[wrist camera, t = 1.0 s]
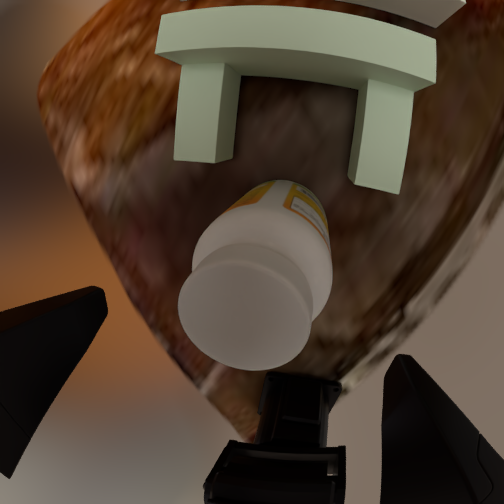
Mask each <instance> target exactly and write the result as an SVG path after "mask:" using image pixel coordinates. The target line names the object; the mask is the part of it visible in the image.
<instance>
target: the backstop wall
mask: <svg viewBox="0 0 504 504" xmlns="http://www.w3.org/2000/svg"><path fill="white" fill-rule="evenodd" d="M180 1H185V0H180ZM337 1H343V2H348V3H353V4H358V5H363V6H367V7H372V8H376V9H379V10H383V11H387V12H390V13H394V14H397V15H400V16H404V17H407V18H410V19H413V20H415V21H418V22H421V23H424V24H426V25H429V26H431V27H434V28H437V27H438V26H439V25H440V24H441V23H443V22H444V21H445V20H446V19H447V18H449V17H450V16H451V15H452V14H453V13H455V12H456V11H457V10H458V9H459V8H461V7H462V6H463V5H464V4H466V1H465V0H337Z"/></svg>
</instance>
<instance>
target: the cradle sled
mask: <svg viewBox="0 0 504 504" xmlns="http://www.w3.org/2000/svg"><path fill="white" fill-rule="evenodd" d="M155 54H157V55H160V56H162V57H165V58H167V59H169V60H172V61H174V62H176V63H178V64H181V65H182V69H181V77H180V86H179V95H178V105H177V116H176V129H175V144H174V160H181V161H195V162H207V163H217V162H221V161H225V160H229V159H232V158H233V148H234V138H235V128H236V118H237V108H238V99H239V90H240V81H241V75H246V76H265V77H278V78H288V79H297V80H305V81H313V82H319V83H326V84H332V85H337V86H342V87H348V88H352V89H357V90H358V100H357V109H356V118H355V126H354V133H353V141H352V148H351V154H350V161H349V167H348V173H347V176H348V178H349V179H350V180H351V181H352V182H353V183H354V184H355V185H360V186H364V187H369V188H373V189H378V190H382V191H386V192H390V193H394V194H398V195H399V192H400V187H401V182H402V177H403V171H404V166H405V160H406V154H407V147H408V140H409V133H410V125H411V116H412V106H413V94H414V92H416V91H418V90H420V89H423V88H425V87H427V86H430V85H432V84H435V83H436V40H435V39H433V38H430V37H427V36H425V35H422V34H419V33H417V32H414V31H411V30H408V29H405V28H402V27H398V26H395V25H392V24H388V23H385V22H381V21H377V20H373V19H369V18H365V17H360V16H356V15H351V14H345V13H340V12H334V11H327V10H320V9H311V8H301V7H288V6H227V7H214V8H204V9H195V10H188V11H181V12H175V13H170V14H164V15H162V17H161V22H160V27H159V32H158V38H157V44H156V50H155Z"/></svg>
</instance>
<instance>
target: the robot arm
mask: <svg viewBox="0 0 504 504" xmlns="http://www.w3.org/2000/svg"><path fill="white" fill-rule="evenodd" d="M107 314H108V307H107V302H106V297H105V292H104V290H103V289H101V288H99V287H96V286H89V287H85V288H82V289H78V290H74V291H71V292H67V293H64V294H60V295H57V296H53V297H50V298H46V299H43V300H39V301H36V302H32V303H29V304H25V305H22V306H18V307H15V308H11V309H8V310H5V311H3V312H2V311H1V312H0V473H2V474H3V475H4V476H6V477H7V478H8V479H10V478H11V476H12V475H13V472H14V471H15V468H16V466H17V465H18V463H19V461H20V459H21V457H22V455H23V453H24V451H25V449H26V447H27V446H28V444H29V442H30V440H31V438H32V436H33V434H34V433H35V431H36V429H37V427H38V426H39V424H40V422H41V421H42V419H43V417H44V416H45V414H46V412H47V411H48V409H49V407H50V406H51V404H52V403H53V401H54V399H55V398H56V396H57V395H58V393H59V391H60V390H61V388H62V387H63V385H64V384H65V382H66V381H67V379H68V378H69V376H70V375H71V373H72V372H73V370H74V369H75V367H76V366H77V364H78V363H79V361H80V360H81V358H82V357H83V355H84V354H85V353H86V351H87V349H88V348H89V346H90V344H91V343H92V341H93V339H94V337H95V336H96V333H97V332H98V330H99V329H100V327H101V325H102V323H103V322H104V320H105V318H106V317H107ZM271 377H272V378H271ZM341 391H342V385H341V384H340V383H336V382H328V381H321V380H314V379H308V378H302V377H296V376H290V375H285V374H280V373H275V372H268V373H267V374H266V377H265V381H264V386H263V390H262V395H261V399H260V404H259V408H258V414H259V415H261V417H260V421H259V425H258V429H257V432H256V436H255V440H254V443H253V444H252V443H244V442H238V441H236V440H229V442H228V444H227V446H226V447H225V448H224V450H223V451H222V453H221V455H220V456H219V458H218V460H217V462H216V463H215V465H214V467H213V468H212V470H211V472H210V474H209V475H208V477H207V478H206V480H205V483H204V484H203V488H204V490H205V491H204V503H205V504H344V500H345V489H346V446H338V447H326V445H327V430H328V415H329V413H330V411H331V409H332V407H333V406H334V404H335V402H336V400H337V398H338V397H339V395H340V393H341ZM381 426H382V477H381V496H380V504H504V459H503V458H502V457H501V456H500V455H499V454H498V453H497V452H496V451H495V450H494V449H493V447H492V446H491V445H490V444H489V443H488V442H487V440H486V439H485V438H484V437H483V436H482V434H479V431H478V430H477V428H476V427H475V426H474V425H473V424H472V423H471V422H470V420H469V419H468V418H467V417H466V416H465V415H464V413H463V412H462V411H461V410H460V409H459V408H458V407H457V405H456V404H455V403H454V402H453V401H452V400H451V399H450V398H449V396H448V395H447V394H446V393H445V392H444V391H443V390H442V389H441V388H440V387H439V385H438V384H437V383H436V382H435V381H434V380H433V379H432V378H431V377H430V375H429V374H427V372H426V371H425V370H424V369H423V368H422V367H421V366H420V365H419V364H418V363H417V362H416V361H415V359H414V358H413V357H412V356H410V355H405V354H398V355H396V356H395V358H394V360H393V361H392V363H391V365H390V367H389V369H388V370H387V372H386V374H385V377H384V389H383V409H382V425H381ZM327 474H333V476H327Z"/></svg>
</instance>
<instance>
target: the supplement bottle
mask: <svg viewBox="0 0 504 504" xmlns="http://www.w3.org/2000/svg"><path fill="white" fill-rule="evenodd" d="M332 275H333V271H332V258H331V249H330V240H329V232H328V224H327V218H326V215H325V211H324V209H323V207H322V205H321V203H320V201H319V200H318V198H317V197H316V196H315V195H314V194H313V193H312V192H311V191H310V190H308V189H307V188H306V187H304V186H302V185H300V184H298V183H295V182H292V181H288V180H273V181H268V182H265V183H262V184H260V185H258V186H256V187H255V188H253V189H252V190H250V191H249V192H248V193H247V194H245V195H244V196H243V197H242V198H241V199H239V200H238V201H237V202H236V203H234V204H233V205H232V206H231V207H230V208H228V209H227V210H226V211H225V212H223V213H222V214H221V215H220V216H219V217H218V218H217V219H216V220H214V221H213V222H212V223H211V224H210V226H209V227H208V228H207V229H206V230H205V231H204V233H203V234H202V235H201V237H200V239H199V240H198V243H197V245H196V248H195V251H194V255H193V261H192V273H191V275H190V276H189V277H188V278H187V279H186V281H185V283H184V284H183V286H182V288H181V291H180V294H179V300H178V313H179V318H180V321H181V324H182V326H183V329H184V331H185V332H186V334H187V335H188V337H189V338H190V340H191V341H192V342H193V343H194V344H195V345H196V346H197V347H198V348H199V349H200V350H201V351H202V352H203V353H205V354H206V355H208V356H209V357H211V358H212V359H214V360H216V361H218V362H220V363H222V364H224V365H227V366H230V367H233V368H237V369H243V370H252V371H255V370H267V369H272V368H276V367H279V366H281V365H283V364H285V363H287V362H289V361H291V360H292V359H293V358H295V357H296V356H297V355H298V354H299V353H300V352H301V350H302V349H303V348H304V346H305V344H306V343H307V340H308V338H309V335H310V330H311V323H312V321H313V320H314V319H315V318H316V317H317V316H318V315H319V314H320V312H321V311H322V309H323V308H324V306H325V304H326V302H327V300H328V298H329V295H330V291H331V287H332Z"/></svg>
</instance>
